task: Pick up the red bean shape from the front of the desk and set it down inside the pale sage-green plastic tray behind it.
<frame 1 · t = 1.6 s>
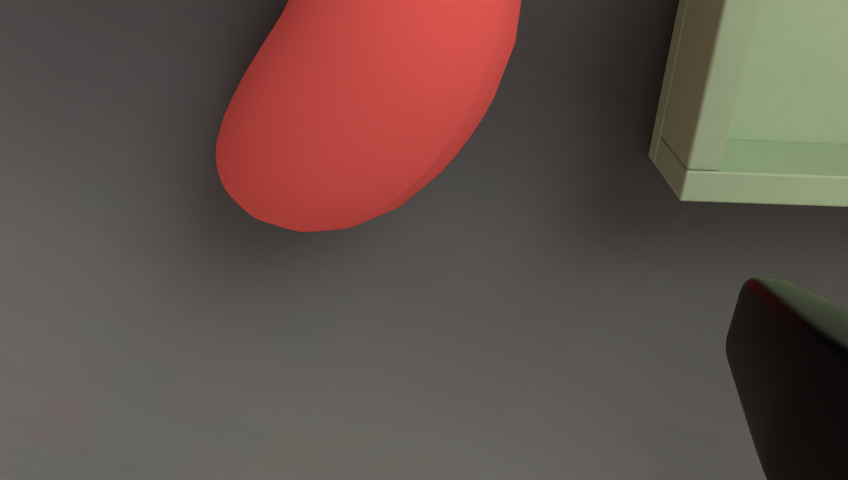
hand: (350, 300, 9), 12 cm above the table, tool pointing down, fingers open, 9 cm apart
red bean shape: (370, 37, 20), on the table
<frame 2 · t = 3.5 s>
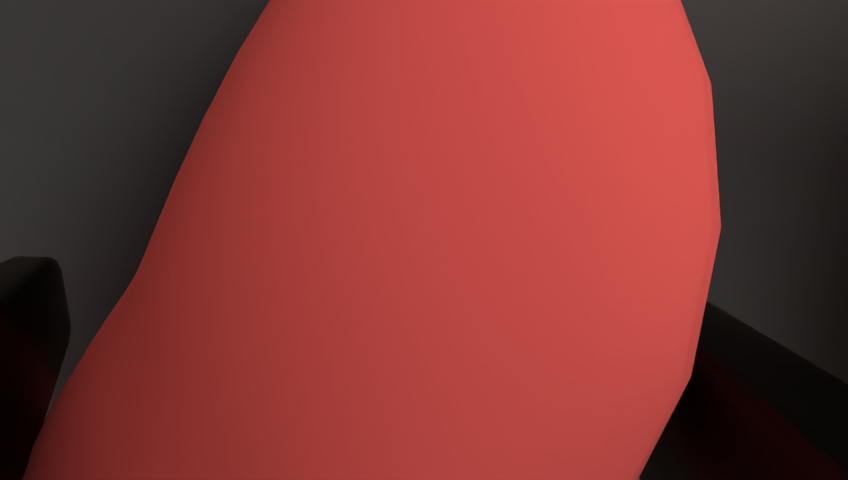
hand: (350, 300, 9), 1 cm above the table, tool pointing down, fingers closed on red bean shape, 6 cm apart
red bean shape: (347, 247, 10), on the table, touching gripper
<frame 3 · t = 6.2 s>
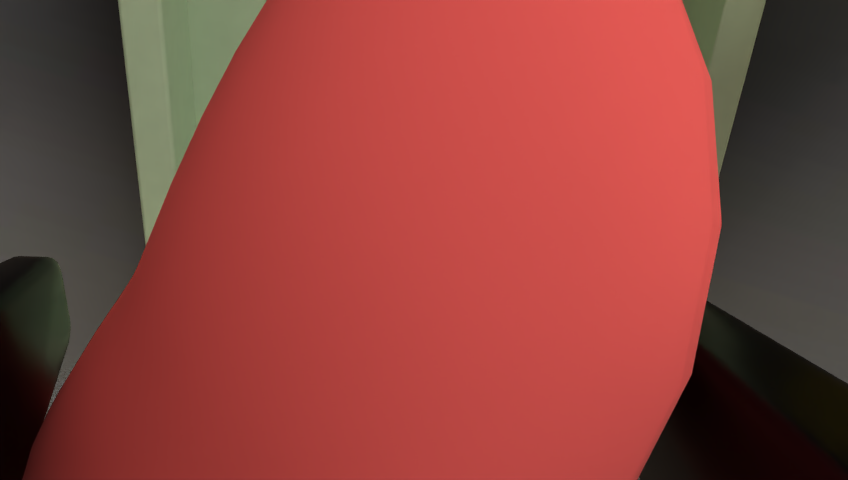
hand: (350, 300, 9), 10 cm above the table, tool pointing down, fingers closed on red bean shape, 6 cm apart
tray: (435, 14, 18), on the table
red bean shape: (347, 245, 10), point 9 cm above the table, touching gripper
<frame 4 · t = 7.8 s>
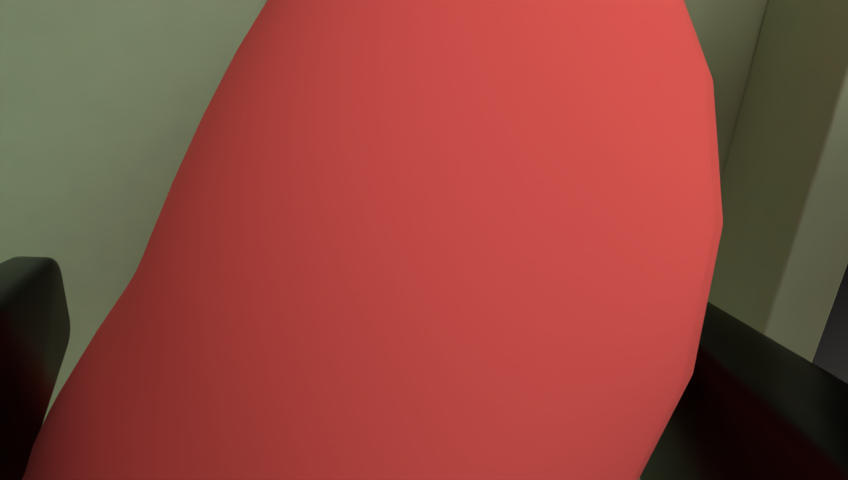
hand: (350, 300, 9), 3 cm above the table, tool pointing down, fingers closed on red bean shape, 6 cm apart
tray: (353, 169, 12), on the table
red bean shape: (348, 245, 10), point 2 cm above the table, touching gripper
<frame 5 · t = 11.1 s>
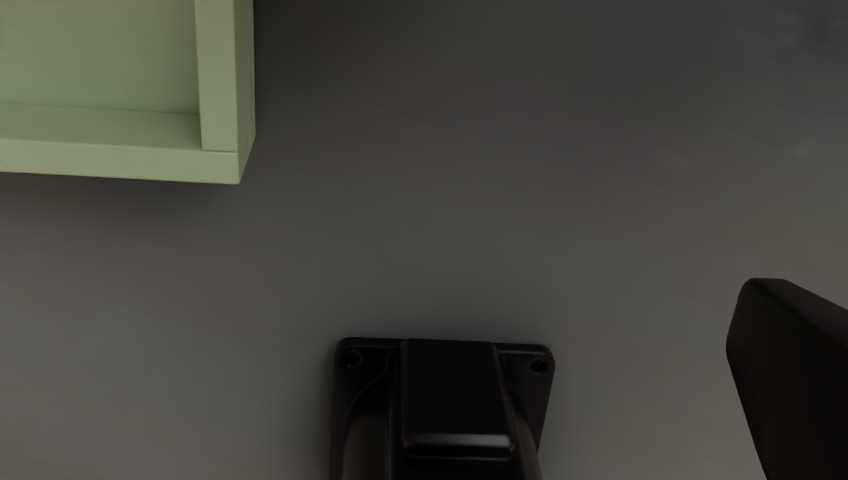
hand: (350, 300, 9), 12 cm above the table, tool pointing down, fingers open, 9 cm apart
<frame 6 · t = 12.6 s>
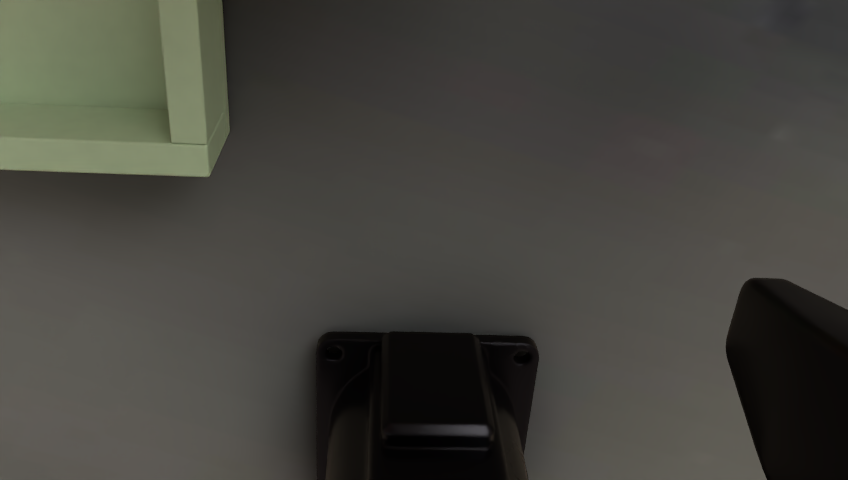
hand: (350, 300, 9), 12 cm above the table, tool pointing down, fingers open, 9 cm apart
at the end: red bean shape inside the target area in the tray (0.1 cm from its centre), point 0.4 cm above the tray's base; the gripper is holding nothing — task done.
